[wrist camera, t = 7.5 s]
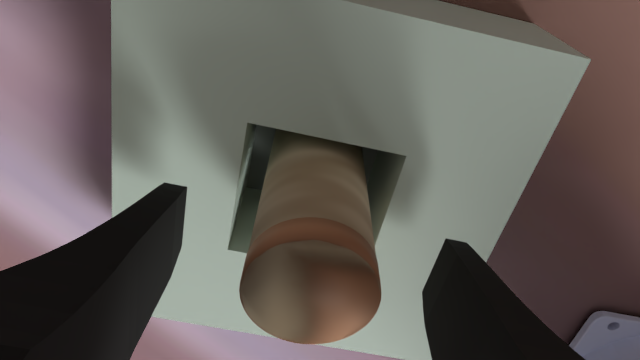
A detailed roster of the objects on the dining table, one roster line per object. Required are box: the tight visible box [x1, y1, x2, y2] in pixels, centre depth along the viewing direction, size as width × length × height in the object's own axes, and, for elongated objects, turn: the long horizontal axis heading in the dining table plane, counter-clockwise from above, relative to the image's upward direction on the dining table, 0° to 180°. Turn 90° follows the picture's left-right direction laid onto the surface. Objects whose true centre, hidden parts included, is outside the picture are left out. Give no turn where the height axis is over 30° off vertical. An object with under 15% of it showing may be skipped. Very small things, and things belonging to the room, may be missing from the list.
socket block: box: [111, 0, 591, 360], centre depth 16 cm, size 12×12×4 cm
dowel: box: [239, 129, 381, 344], centre depth 14 cm, size 3×3×8 cm
